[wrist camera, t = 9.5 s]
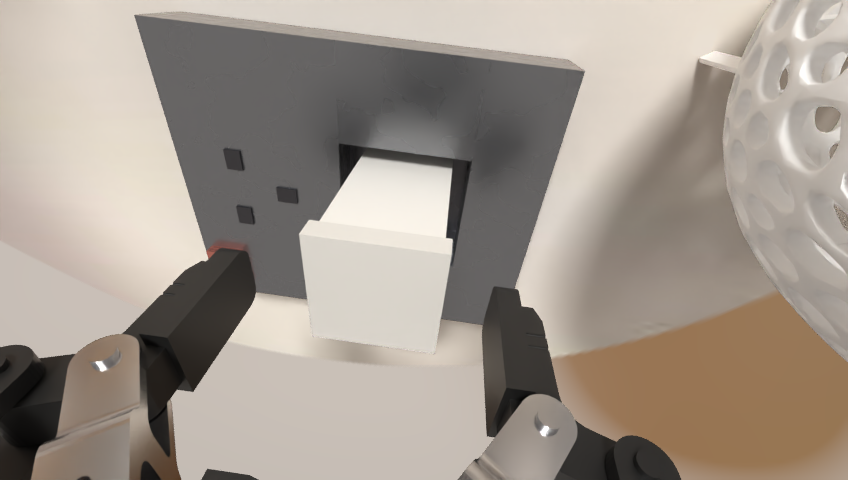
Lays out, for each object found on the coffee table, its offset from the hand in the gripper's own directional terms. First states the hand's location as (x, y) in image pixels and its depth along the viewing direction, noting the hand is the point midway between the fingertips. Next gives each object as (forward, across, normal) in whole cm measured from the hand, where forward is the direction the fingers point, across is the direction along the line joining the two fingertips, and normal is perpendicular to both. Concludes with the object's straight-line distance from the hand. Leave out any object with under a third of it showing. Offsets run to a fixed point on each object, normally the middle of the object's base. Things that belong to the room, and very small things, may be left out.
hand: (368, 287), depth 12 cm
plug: (+8, 0, 0) cm, 8 cm away
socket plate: (+8, +2, 0) cm, 8 cm away
